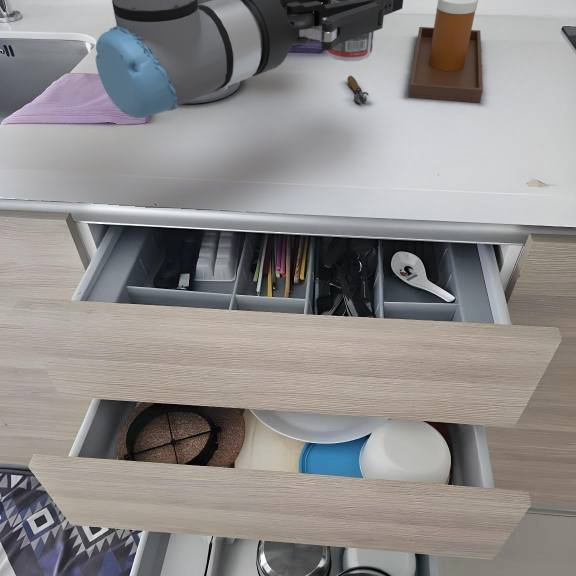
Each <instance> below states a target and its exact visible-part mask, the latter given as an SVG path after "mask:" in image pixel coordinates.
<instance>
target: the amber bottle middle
mask: <svg viewBox="0 0 576 576" xmlns="http://www.w3.org/2000/svg"><path fill="white" fill-rule="evenodd" d="M478 3H479V0H437V5H438V6H436V8H437V7H438V10H437V9H436V11H437V16H436V15H435V17H436V22H435V21H434V23H435V28H434V27H433V28H434V35H433V41H432V47H431V53H430V59H429V65H430V66H431V67H432V68H434V69H437V70H441V71H456V70H460V69H462V68H463V67H464V64H465V59H466V54H467V49H468V44H469V39H470V34H471V30H473V26H474V25H473V24H474V19H475V14H476V11H477V7H478Z"/></svg>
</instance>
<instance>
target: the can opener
mask: <svg viewBox="0 0 576 576" xmlns="http://www.w3.org/2000/svg"><path fill="white" fill-rule="evenodd" d="M346 79H347V82H348V85H349V86H350V87H351V88H352V89H353V91H354V93H355V94H354V96H353V99H354V101H355V102H357V103H360V104H362V103H367V96H369V93H368V92H366V91H363V89H362V88H361V86H360V85H359V84H358V82H357V80H356V78H355V77H354V76H352V75H349V76H347V78H346Z"/></svg>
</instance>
